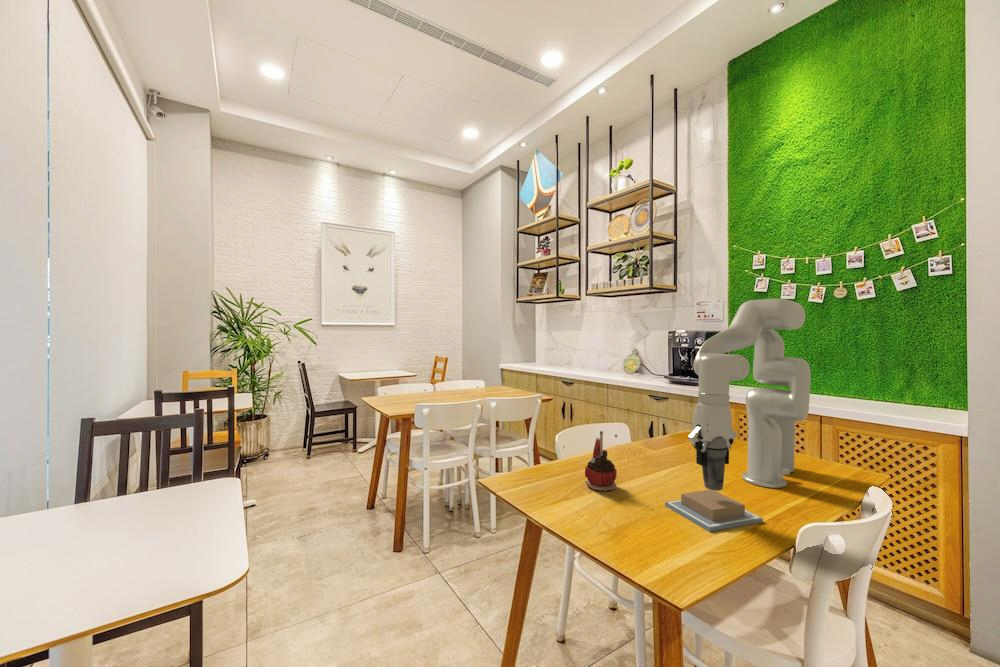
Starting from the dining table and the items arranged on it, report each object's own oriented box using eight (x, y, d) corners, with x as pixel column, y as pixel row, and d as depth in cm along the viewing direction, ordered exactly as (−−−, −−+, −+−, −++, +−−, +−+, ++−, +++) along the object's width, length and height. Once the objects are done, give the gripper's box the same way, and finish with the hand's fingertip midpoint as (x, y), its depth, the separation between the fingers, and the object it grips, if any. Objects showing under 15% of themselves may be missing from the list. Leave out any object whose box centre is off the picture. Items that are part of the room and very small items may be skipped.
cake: (611, 495, 124) (611, 436, 124) (581, 489, 128) (582, 432, 128) (619, 484, 133) (619, 429, 133) (591, 478, 138) (592, 426, 137)
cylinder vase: (756, 470, 147) (757, 402, 147) (751, 461, 159) (752, 397, 158) (797, 476, 142) (798, 405, 142) (789, 465, 153) (790, 400, 153)
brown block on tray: (713, 498, 122) (713, 485, 122) (762, 522, 107) (763, 507, 107) (665, 505, 117) (665, 491, 117) (709, 531, 101) (709, 516, 101)
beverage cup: (734, 492, 108) (732, 418, 108) (706, 492, 108) (705, 419, 108) (719, 481, 116) (718, 412, 115) (694, 482, 116) (692, 413, 115)
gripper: (726, 396, 118) (725, 457, 118) (678, 398, 113) (677, 462, 113) (749, 400, 111) (748, 465, 111) (699, 403, 105) (698, 471, 106)
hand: (712, 463), depth 112 cm, fingers closed on beverage cup, 6 cm apart
